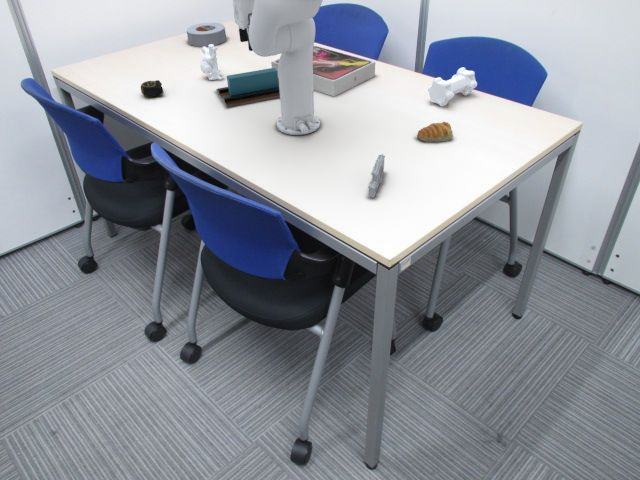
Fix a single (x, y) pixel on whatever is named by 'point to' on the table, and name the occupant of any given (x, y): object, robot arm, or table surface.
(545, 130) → the table surface
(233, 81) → the teal bar
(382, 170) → the garden wall model
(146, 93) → the tape measure
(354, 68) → the product packaging
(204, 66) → the white animal statuette
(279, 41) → the robot arm
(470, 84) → the bone shaped toy
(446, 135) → the pastry
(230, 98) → the holder board
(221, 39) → the tape roll
